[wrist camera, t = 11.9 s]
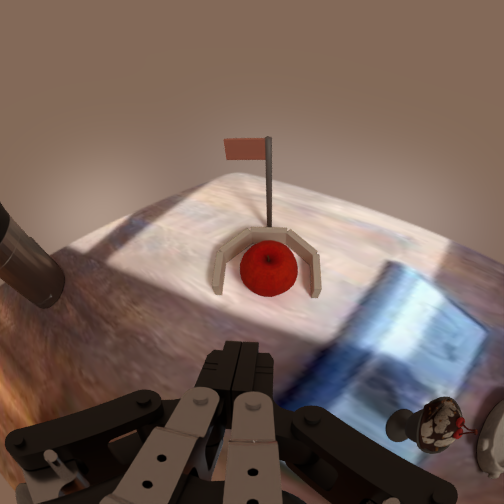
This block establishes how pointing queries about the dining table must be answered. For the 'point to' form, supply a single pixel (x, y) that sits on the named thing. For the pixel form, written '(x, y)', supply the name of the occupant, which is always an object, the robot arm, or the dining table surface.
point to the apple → (268, 268)
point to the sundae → (429, 425)
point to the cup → (263, 151)
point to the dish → (492, 443)
